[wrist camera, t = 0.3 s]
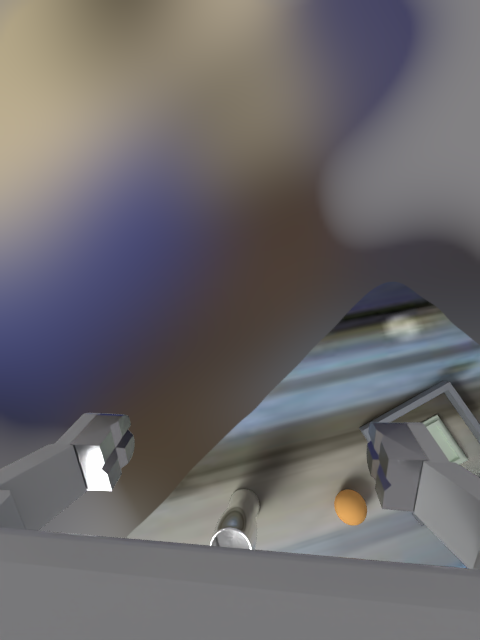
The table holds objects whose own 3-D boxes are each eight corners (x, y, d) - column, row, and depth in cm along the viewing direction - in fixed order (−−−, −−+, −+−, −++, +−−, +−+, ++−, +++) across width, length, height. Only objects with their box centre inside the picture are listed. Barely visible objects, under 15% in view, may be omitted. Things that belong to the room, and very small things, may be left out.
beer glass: (263, 488, 60) (255, 530, 45) (260, 526, 59) (252, 581, 44) (228, 483, 61) (210, 522, 46) (225, 520, 60) (205, 572, 45)
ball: (368, 507, 57) (377, 522, 51) (342, 521, 57) (348, 537, 52) (351, 479, 58) (358, 491, 52) (326, 493, 58) (330, 506, 53)
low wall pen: (505, 470, 54) (516, 475, 52) (415, 518, 55) (421, 525, 53) (442, 381, 58) (449, 381, 55) (359, 428, 59) (362, 430, 56)
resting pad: (466, 459, 55) (470, 461, 54) (422, 483, 56) (425, 485, 55) (436, 414, 57) (439, 415, 56) (393, 438, 58) (395, 439, 56)
